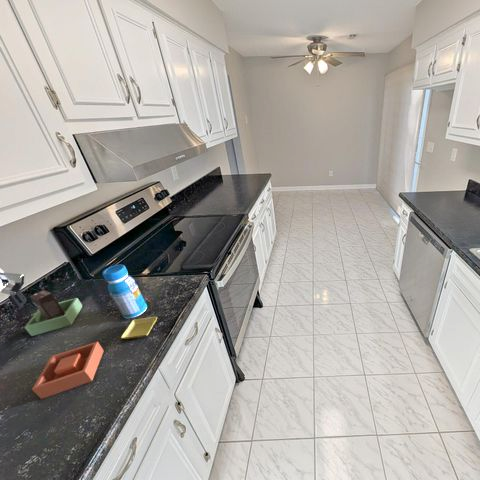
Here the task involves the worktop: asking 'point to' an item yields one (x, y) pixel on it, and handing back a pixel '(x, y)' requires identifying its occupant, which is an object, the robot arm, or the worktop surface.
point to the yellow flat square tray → (139, 328)
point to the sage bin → (42, 325)
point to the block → (70, 365)
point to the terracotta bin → (54, 384)
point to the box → (47, 305)
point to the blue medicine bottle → (124, 291)
